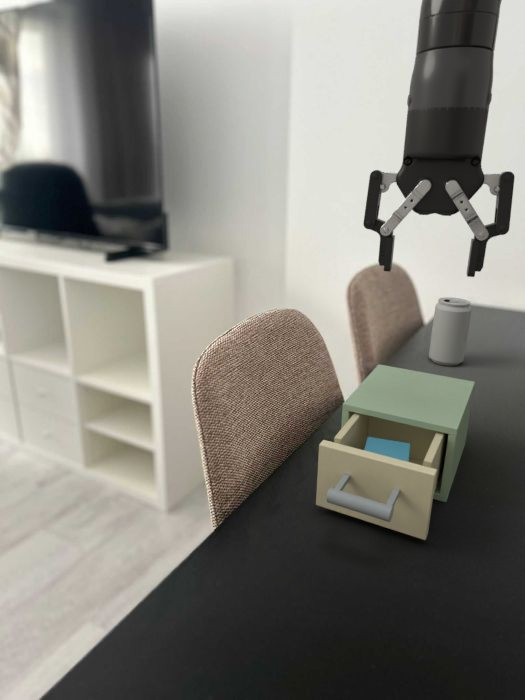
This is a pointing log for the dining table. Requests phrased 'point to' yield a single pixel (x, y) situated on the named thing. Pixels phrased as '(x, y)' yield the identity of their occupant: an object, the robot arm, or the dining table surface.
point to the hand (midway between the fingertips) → (427, 272)
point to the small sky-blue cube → (388, 448)
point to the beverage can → (450, 331)
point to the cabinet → (418, 409)
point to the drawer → (381, 474)
